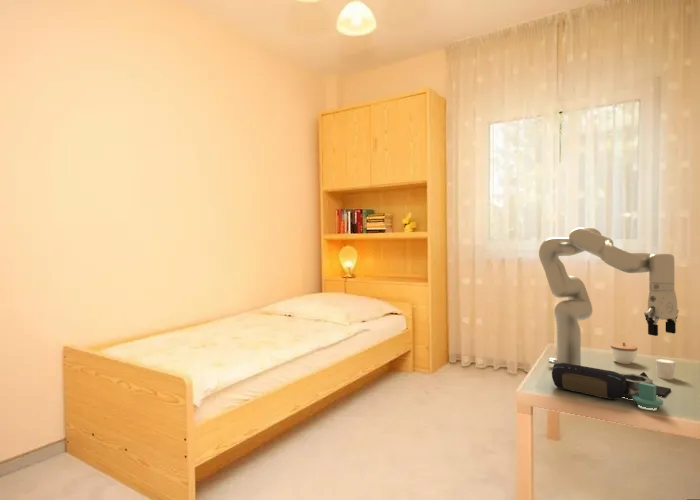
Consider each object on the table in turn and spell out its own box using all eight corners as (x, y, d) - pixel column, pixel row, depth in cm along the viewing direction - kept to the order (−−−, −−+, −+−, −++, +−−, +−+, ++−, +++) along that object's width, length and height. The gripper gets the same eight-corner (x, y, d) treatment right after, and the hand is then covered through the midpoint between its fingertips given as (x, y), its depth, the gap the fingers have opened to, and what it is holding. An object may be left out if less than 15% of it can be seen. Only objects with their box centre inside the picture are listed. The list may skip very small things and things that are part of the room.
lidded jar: (629, 366, 198) (629, 346, 198) (605, 361, 207) (606, 341, 207) (641, 363, 203) (642, 343, 203) (618, 358, 213) (618, 339, 212)
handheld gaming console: (671, 394, 158) (651, 369, 163) (652, 403, 161) (633, 378, 166) (672, 390, 167) (653, 366, 172) (654, 398, 170) (636, 375, 175)
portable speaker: (548, 389, 168) (548, 364, 168) (555, 382, 176) (555, 358, 176) (623, 405, 152) (623, 377, 151) (628, 397, 159) (628, 370, 159)
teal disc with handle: (628, 406, 151) (628, 383, 150) (638, 401, 156) (638, 378, 156) (657, 414, 144) (657, 390, 143) (666, 408, 149) (667, 385, 149)
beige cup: (678, 380, 179) (679, 363, 178) (660, 379, 180) (660, 362, 180) (670, 375, 185) (670, 359, 185) (652, 374, 187) (652, 358, 187)
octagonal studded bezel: (612, 395, 161) (612, 377, 161) (624, 389, 167) (624, 371, 167) (644, 404, 153) (644, 384, 153) (655, 397, 159) (655, 378, 159)
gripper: (656, 289, 151) (656, 338, 152) (687, 287, 158) (688, 333, 158) (635, 287, 158) (635, 334, 159) (666, 285, 165) (666, 330, 165)
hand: (661, 333), depth 158 cm, fingers open, 9 cm apart
